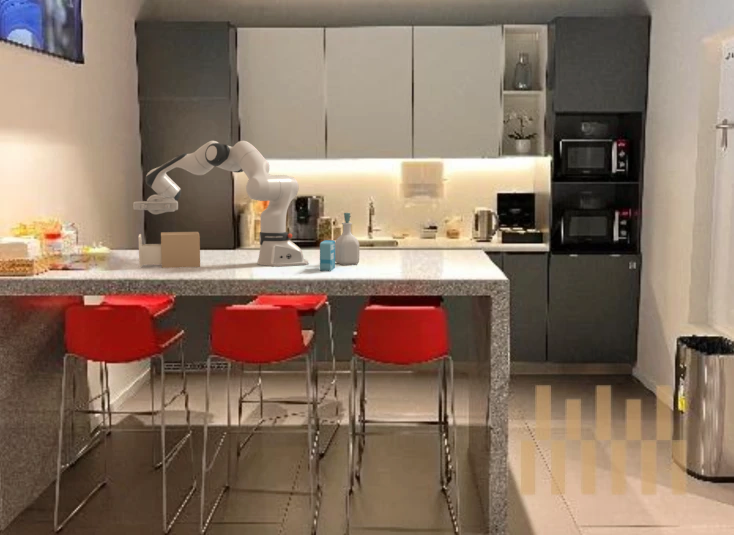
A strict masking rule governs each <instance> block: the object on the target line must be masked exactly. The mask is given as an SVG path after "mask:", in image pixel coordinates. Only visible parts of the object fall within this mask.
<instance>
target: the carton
mask: <svg viewBox="0 0 734 535" xmlns="http://www.w3.org/2000/svg"><path fill="white" fill-rule="evenodd" d="M200 238H201V236H200V233H199V231H170V232H169V231H167V232H164V231H163V232H160V244H161V255H162V264H161V269H172V268H179V269H180V268H201V240H200Z"/></svg>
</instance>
